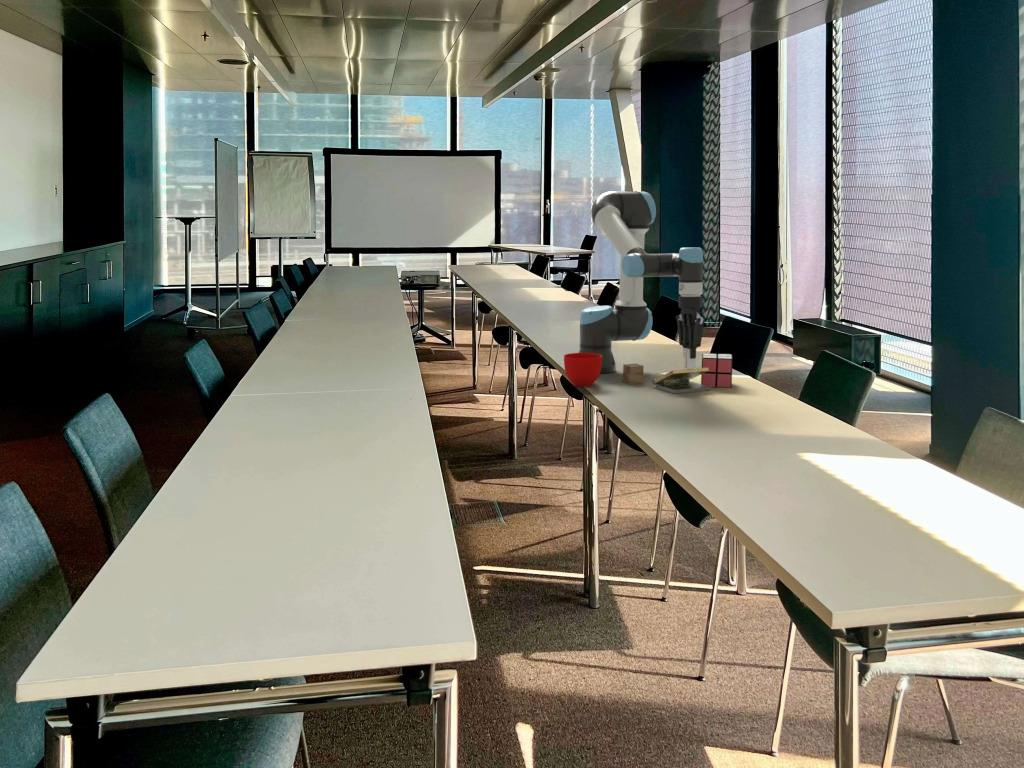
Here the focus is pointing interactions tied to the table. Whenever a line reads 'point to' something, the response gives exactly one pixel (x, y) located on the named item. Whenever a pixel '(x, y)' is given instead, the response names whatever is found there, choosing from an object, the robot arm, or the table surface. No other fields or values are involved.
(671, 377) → the cream square panel
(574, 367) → the ceramic cup
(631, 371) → the block
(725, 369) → the puzzle cube
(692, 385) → the hinge base
